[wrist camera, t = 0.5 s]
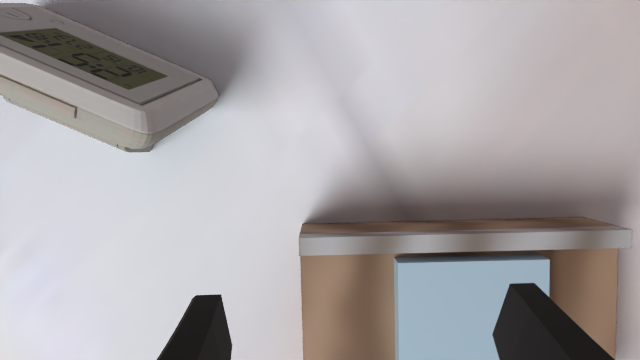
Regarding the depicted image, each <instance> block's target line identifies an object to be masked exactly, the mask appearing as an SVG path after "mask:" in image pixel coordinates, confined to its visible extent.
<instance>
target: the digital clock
mask: <svg viewBox="0 0 640 360" xmlns="http://www.w3.org/2000/svg"><path fill="white" fill-rule="evenodd" d="M0 95H2V96H3V98H4V99H5V100H6V101H8V102H10V103H12V104H14V105H17V106H19V107H22V108H24V109H26V110H29V111H31V112H33V113H36V114H38V115H41V116H43V117H45V118H48V119H50V120H52V121H55V122H57V123H59V124H62V125H64V126H67V127H69V128H71V129H74V130H76V131H78V132H81V133H83V134H86V135H88V136H90V137H93V138H95V139H97V140H100V141H102V142H104V143H107V144H109V145H112V146H114V147H116V148H119V149H121V150H123V151H126V152H150V150H151V149H152V147H153V144H154V143H156V142H158V141H159V140H161V139H163V138H164V137H166V136H168V135H169V134H171V133H172V132H174V131H176V130H177V129H179V128H181V127H182V126H184V125H185V124H187V123H189V122H190V121H192V120H194V119H195V118H197V117H198V116H200V115H202V114H203V113H205V112H206V111H208V110H209V109H210V108H212V107H213V105H214V104H215V103H216V101H217V98H218V93H217V91H216V89H215V87H214V85H213V83H212V81H211V80H209V79H207V78H205V77H203V76H201V75H199V74H196V73H194V72H192V71H190V70H187V69H185V68H183V67H180V66H178V65H176V64H173V63H171V62H169V61H166V60H164V59H162V58H159V57H157V56H155V55H152V54H150V53H148V52H145V51H143V50H141V49H138V48H136V47H134V46H131V45H129V44H127V43H124V42H122V41H120V40H117V39H115V38H113V37H110V36H108V35H106V34H103V33H101V32H99V31H96V30H94V29H92V28H89V27H87V26H85V25H82V24H80V23H78V22H75V21H73V20H71V19H68V18H66V17H64V16H61V15H59V14H57V13H54V12H52V11H49V10H47V9H45V8H42V7H39V6H37V5H33V4H26V3H0Z"/></svg>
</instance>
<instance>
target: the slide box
mask: <svg viewBox="0 0 640 360" xmlns="http://www.w3.org/2000/svg"><path fill="white" fill-rule="evenodd" d="M618 248H632V230H631V229H627V228H623V227H619V226H615V225H611V224H608V223H604V222H600V221H596V220H592V219H588V218H584V217H569V218H528V219H488V220H447V221H407V222H367V223H326V224H302V228H301V231H300V235H299V256H300V259H301V293H302V326H303V360H395V296H394V257H433V256H475V255H516V254H539V255H541V256H544V257H546V258H548V259H550V283H549V298H550V299H552V300H553V301H554V302H555V303H556V304H557V305H558V306H559V307H560V308H561V309H562V310H563V311H564V312H565V313H566V314H567V315H568V316H569V317H570V318H571V319H572V320H573V321H574V322H575V323H576V324H577V325H578V326H579V327H580V328H582V329H583V330H584V331H585V332H586V333H587V334H588V335H589V336H590V337H591V338H592V339H593V340H594V341H595V342H596V343H597V344H598V345H599V346H601V347H602V348H603V349H604V350H605V351H606V352H607V353H608V354H609V355H610V356H611V357H613V358H614V359H615V349H616V308H617V267H618Z"/></svg>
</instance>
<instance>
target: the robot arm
mask: <svg viewBox="0 0 640 360" xmlns="http://www.w3.org/2000/svg"><path fill="white" fill-rule="evenodd" d="M492 335H493V339H494V342H495V346H496V349H497V353H498V356H499V359H500V360H615V359H614V358H613V357H611V356H610V355H609V354H608V353H607V352H606V351H605V350H604V349H603V348H602V347H601V346H599V345H598V344H597V343H596V342H595V341H594V340H593V339H592V338H591V337H590V336H589V335H588V334H587V333H586V332H585V331H584V330H583V329H582V328H580V327H579V326H578V325H577V324H576V323H575V322H574V321H573V320H572V319H571V318H570V317H569V316H568V315H567V314H566V313H565V312H564V311H563V310H562V309H561V308H560V307H559V306H558V305H557V304H556V303H555V302H554V301H553V300H552V299H550V298H549V297H548V296H547V295H546V294H545V293H544V292H543V291H542V290H541V289H540V288H539V287H538V286H537V285H536V284H535V283H514V284H510V285H509V288H508V290H507V293H506V296H505V299H504V302H503V305H502V308H501V311H500V314H499V316H498V319H497V322H496V325H495V328H494V331H493V334H492ZM231 350H232V343H231V338H230V334H229V329H228V325H227V320H226V316H225V311H224V307H223V302H222V297H221V295H196V296H195V297H194V298H193V299H192V301H191V302H190V304H189V306H188V308H187V310H186V312H185V313H184V315H183V317H182V319H181V321H180V322H179V324H178V326H177V328H176V329H175V331H174V333H173V334H172V336H171V338H170V339H169V341H168V343H167V344H166V346H165V348H164V349H163V351H162V352H161V354H160V356H159V357H158V359H157V360H231Z"/></svg>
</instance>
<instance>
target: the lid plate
mask: <svg viewBox="0 0 640 360" xmlns="http://www.w3.org/2000/svg"><path fill="white" fill-rule="evenodd" d="M514 283H535V284H536V285H537V286H538V287H539V288H540V289H541V290H542V291H543V292H544V293H545V294H546V295H547V296H548V297H549V283H550V259H548V258H546V257H544V256H541V255H539V254H516V255H475V256H433V257H394V296H395V360H500V359H499V356H498V353H497V349H496V346H495V342H494V339H493V335H492V334H493V331H494V328H495V325H496V322H497V319H498V316H499V314H500V311H501V308H502V305H503V302H504V299H505V296H506V293H507V290H508V288H509V285H510V284H514Z"/></svg>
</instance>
